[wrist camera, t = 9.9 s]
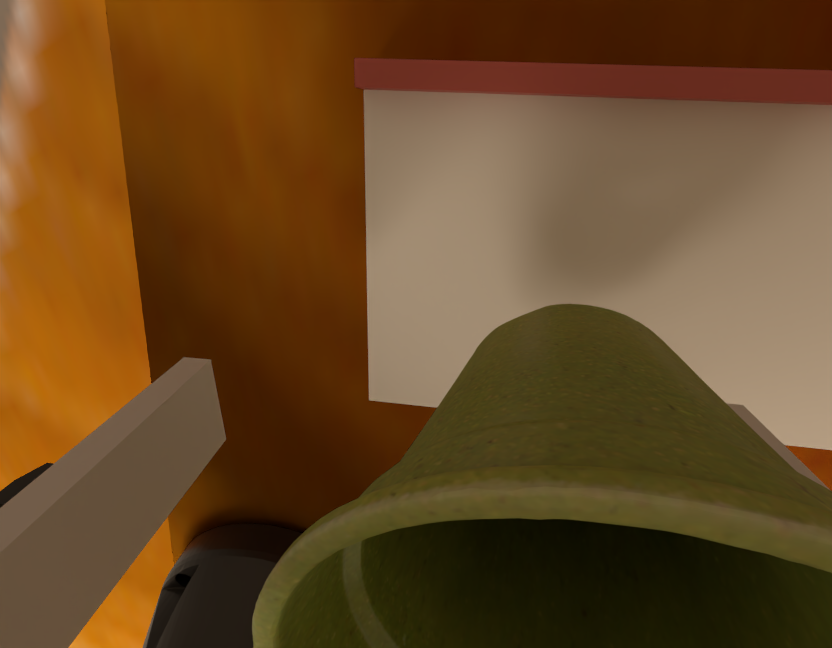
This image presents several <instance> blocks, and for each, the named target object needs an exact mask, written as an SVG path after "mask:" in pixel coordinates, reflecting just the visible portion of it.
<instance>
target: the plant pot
mask: <svg viewBox="0 0 832 648" xmlns="http://www.w3.org/2000/svg"><path fill="white" fill-rule="evenodd" d="M252 634H253V648H832V491H830V490H829V489H827V488H825V487H823V486H822V485H820V484H818V483H816V482H815V481H813V480H811V479H809V478H807V477H806V476H804V475H802V474H800V473H798V472H797V471H796V470H795V469H793V468H792V467H791V466H790V465H789V464H788V463H787V462H786V461H785V460H784V459H783V458H782V457H781V456H780V455H779V454H778V453H777V452H776V451H775V450H774V449H773V448H772V447H771V446H769V445H768V444H767V443H766V442H765V441H764V440H763V439H762V438H761V437H760V436H759V435H758V434H757V433H756V432H755V431H754V430H753V429H752V428H751V427H750V426H749V425H748V424H747V423H746V422H745V421H744V420H743V419H742V418H741V417H740V416H739V415H738V414H736V413H735V412H734V411H733V410H732V409H731V408H730V407H729V406H728V405H727V404H726V403H725V402H724V401H723V400H722V399H721V398H720V397H719V396H718V395H717V394H716V393H715V392H714V391H713V390H712V389H711V388H710V387H709V386H708V385H707V384H706V383H705V382H704V381H703V380H702V379H701V378H700V377H699V376H698V375H697V374H696V373H695V372H694V371H693V370H692V369H691V368H690V367H689V366H688V365H687V364H686V363H685V362H684V361H683V360H682V359H681V358H680V357H679V356H678V355H677V354H676V353H675V352H674V351H673V350H672V349H671V348H670V347H669V346H668V345H667V344H666V343H665V342H664V341H663V340H662V339H661V338H659V337H658V336H657V335H656V334H655V333H654V332H653V331H651V330H650V329H649V328H647V327H646V326H644V325H643V324H641V323H640V322H638V321H636V320H634V319H632V318H630V317H628V316H627V315H624V314H621V313H619V312H616V311H613V310H609V309H605V308H602V307H596V306H590V305H583V304H556V305H549V306H545V307H543V308H540V309H537V310H535V311H532V312H529V313H527V314H524V315H522V316H519V317H517V318H515V319H512V320H510V321H508V322H506V323H504V324H502V325H500V326H499V327H497V328H496V329H494V330H493V331H492V332H491V333H490V334H489V335H488V336H486V337H485V338H484V340H483V341H482V342H481V343H480V344H479V346H478V347H477V349H476V350H475V352H474V353H473V355H472V357H471V358H470V359H469V361H468V362H467V364H466V365H465V367H464V368H463V370H462V371H461V373H460V374H459V376H458V378H457V379H456V381H455V382H454V384H453V385H452V387H451V388H450V390H449V391H448V392H447V394H446V395H445V397H444V398H443V400H442V401H441V403H440V404H439V406H438V407H437V409H436V410H435V412H434V413H433V415H432V416H431V417H430V419H429V420H428V422H427V423H426V425H425V426H424V428H423V429H422V431H421V432H420V433H419V435H418V436H417V438H416V439H415V441H414V442H413V443H412V445H411V446H410V448H409V449H408V451H407V452H406V454H405V455H404V456H403V458H402V459H401V461H400V462H399V463H397V464H396V465H394V466H393V467H392V468H390V469H389V470H388V471H386V472H385V473H384V474H382V475H381V476H380V477H378V478H377V479H376V480H375V481H374V482H373V483H372V484H371V485H370V486H369V487H368V488H367V489H366V490H365V491H364V492H363V493H362V494H361V495H360V496H359V498H357V499H355V500H353V501H351V502H349V503H347V504H344V505H342V506H340V507H338V508H336V509H335V510H333V511H331V512H330V513H328V514H327V515H325V516H323V517H322V518H320V519H319V520H317V521H316V522H315V523H314V524H313V525H311V526H310V527H309V528H308V529H307V530H305V531H304V532H303V533H302V534H301V535H300V536H299V537H298V538H297V539H296V540H295V541H294V542H293V543H292V544H291V546H290V547H289V548H288V549H287V551H286V552H285V553H284V554H283V556H282V557H281V558H280V560H279V561H278V563H277V564H276V566H275V567H274V569H273V570H272V571H271V573H270V575H269V576H268V578H267V579H266V581H265V584H264V586H263V588H262V590H261V592H260V594H259V597H258V600H257V602H256V605H255V610H254V613H253V619H252Z"/></svg>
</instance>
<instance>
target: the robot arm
mask: <svg viewBox="0 0 832 648" xmlns="http://www.w3.org/2000/svg"><path fill="white" fill-rule="evenodd" d="M726 404H727V405H728V406H729V407H730V408H731V409H732V410H733V411H734V412H735V413H736V414H738V415H739V416H740V417H741V418H742V419H743V420H744V421H745V422H746V423H747V424H748V425H749V426H750V427H751V428H752V429H753V430H754V431H755V432H756V433H757V434H758V435H759V436H760V437H761V438H762V439H763V440H764V441H765V442H766V443H767V444H768V445H769V446H771V447H772V448H773V449H774V450H775V451H776V452H777V453H778V454H779V455H780V456H781V457H782V458H783V459H784V460H785V461H786V462H787V463H788V464H789V465H790V466H791V467H792V468H793V469H795V470H796V471H797V472H798V473H800V474H802V475H804V476H806V477H807V478H809V479H811V480H813V481H815V482H816V483H818V484H820V485H822V486H823V487H825V488H827V487H826V486H825V485H824V484H823V483H822V482H821V481H820V480H819V479H818V478H817V477H816V476H815V475H814V474H813V473H812V472H811V471H810V470H809V469H808V468H807V467H806V466H805V465H804V464H803V463H802V462H801V461H800V460H799V459H798V458H797V457H796V456H795V455H794V454H793V453H792V452H791V451H790V450H789V449H788V448H787V447H786V446H785V445H784V444H783V443H781V442H780V441H779V440H778V439H777V438H776V437H775V436H774V435H773V434H772V433H771V432H770V431H769V430H768V429H767V428H766V427H765V426H764V425H763V424H762V423H761V422H760V421H759V420H758V419H757V418H756V417H755V416H754V415H753V414H752V413H751V412H750V411H749V410H748V409H747V408H746V407H745V406H744V405H740V404H728V403H726ZM225 440H226V435H225V430H224V425H223V420H222V414H221V409H220V404H219V399H218V394H217V389H216V384H215V379H214V373H213V368H212V363H211V359H200V358H188V357H184V358H182V359H181V360H180V361H179V362H177V363H176V364H175V365H174V366H173V367H171V368H170V369H169V370H168V371H167V372H165V373H164V374H163V375H162V376H160V377H159V378H158V379H157V380H156V381H154V382H153V383H152V384H151V385H149V386H148V387H147V388H146V389H145V390H143V391H142V392H141V393H140V394H138V395H137V396H136V397H135V398H134V399H132V400H131V401H130V402H129V403H128V404H126V405H125V406H124V407H123V408H121V409H120V410H119V411H118V412H117V413H115V414H114V415H113V416H112V417H110V418H109V419H108V420H107V421H106V422H104V423H103V424H102V425H101V426H99V427H98V428H97V429H96V430H95V431H93V432H92V433H91V434H90V435H89V436H87V437H86V438H85V439H84V440H82V441H81V442H80V443H79V444H78V445H76V446H75V447H74V448H73V449H71V450H70V451H69V452H68V453H67V454H65V455H64V456H63V457H62V458H60V459H59V460H58V461H57V462H56V463H54V464H52V463H46V464H44V465H42V466H40V467H39V468H37V469H35V470H33V471H31V472H29V473H27V474H25V475H24V476H22V477H20V478H18V479H16V480H14V481H13V482H12V483H10V484H9V485H8V486H7V487H5V488H4V489H3V490H2V491H0V648H68V647H69V646H70V644H71V643H72V642H73V641H74V639H75V638H76V637H77V635H78V634H79V633H80V631H81V630H82V629H83V627H84V626H85V625H86V623H87V622H88V621H89V619H90V618H91V617H92V616H93V614H94V613H95V612H96V610H97V609H98V608H99V606H100V605H101V604H102V602H103V601H104V600H105V598H106V597H107V596H108V594H109V593H110V592H111V590H112V589H113V588H114V587H115V585H116V584H117V583H118V581H119V580H120V579H121V577H122V576H123V575H124V573H125V572H126V571H127V569H128V568H129V567H130V565H131V564H132V563H133V562H134V560H135V559H136V558H137V556H138V555H139V554H140V552H141V551H142V550H143V548H144V547H145V546H146V544H147V543H148V542H149V540H150V539H151V538H152V536H153V535H154V534H155V533H156V531H157V530H158V529H159V527H160V526H161V525H162V523H163V522H164V521H165V519H166V518H167V517H168V515H169V514H170V513H171V511H172V510H173V509H174V507H175V506H176V505H177V504H178V502H179V501H180V500H181V498H182V497H183V496H184V494H185V493H186V492H187V490H188V489H189V488H190V486H191V485H192V484H193V482H194V481H195V480H196V479H197V477H198V476H199V475H200V473H201V472H202V471H203V469H204V468H205V467H206V465H207V464H208V463H209V461H210V460H211V459H212V457H213V456H214V455H215V453H216V452H217V451H218V450H219V448H220V447H221V446H222V444H223V443H224V442H225ZM827 489H828V488H827ZM829 490H830V489H829ZM830 491H831V490H830ZM301 534H302V533H299V532H296V531H293V530H289V529H286V528H281V527H277V526H271V525H263V524H232V525H226V526H221V527H217V528H214V529H211V530H208V531H206V532H204V533H202V534H201V535H199V536H197V537H196V538H195V539H194V540H192V541H191V542H190V544H189V545H188V546H187V547H186V549H185V550H184V552H183V553H182V555H181V556H180V558H179V559H178V561H177V562H176V564H175V565H174V567H173V568H172V570H171V571H170V573H169V574H168V576H167V578H166V580H165V582H164V584H163V587H162V590H161V593H160V596H159V599H158V603H157V606H156V609H155V612H154V615H153V618H152V621H151V624H150V627H149V630H148V633H147V636H146V639H145V642H144V645H143V648H253V634H252V619H253V613H254V610H255V605H256V602H257V600H258V597H259V594H260V592H261V590H262V588H263V586H264V584H265V581H266V579H267V578H268V576H269V575H270V573H271V571H272V570H273V569H274V567H275V566H276V564H277V563H278V561H279V560H280V558H281V557H282V556H283V554H284V553H285V552H286V551H287V549H288V548H289V547H290V546H291V544H292V543H293V542H294V541H295V540H296V539H297V538H298V537H299V536H300V535H301Z"/></svg>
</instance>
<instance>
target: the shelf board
mask: <svg viewBox="0 0 832 648" xmlns="http://www.w3.org/2000/svg"><path fill="white" fill-rule="evenodd" d="M354 75H355V87H356V88H360V89H364V138H365V197H366V255H367V314H368V373H369V400H371V401H380V402H389V403H398V404H408V405H417V406H426V407H436V408H437V407H438V406H439V404H440V403H441V401H442V400H443V398H444V397H445V395H446V394H447V392H448V391H449V390H450V388H451V387H452V385H453V384H454V382H455V381H456V379H457V378H458V376H459V374H460V373H461V371H462V370H463V368H464V367H465V365H466V364H467V362H468V361H469V359H470V358H471V357H472V355H473V353H474V352H475V350H476V349H477V347H478V346H479V344H480V343H481V342H482V341H483V340H484V338H485V337H486V336H488V335H489V334H490V333H491V332H492V331H493V330H494V329H496V328H497V327H499V326H500V325H502V324H504V323H506V322H508V321H510V320H512V319H515V318H517V317H519V316H522V315H524V314H527V313H529V312H532V311H535V310H537V309H540V308H543V307H545V306H549V305H556V304H583V305H590V306H596V307H602V308H605V309H609V310H613V311H616V312H619V313H621V314H624V315H627V316H628V317H630V318H632V319H634V320H636V321H638V322H640V323H641V324H643V325H644V326H646V327H647V328H649V329H650V330H651V331H653V332H654V333H655V334H656V335H657V336H658V337H659V338H661V339H662V340H663V341H664V342H665V343H666V344H667V345H668V346H669V347H670V348H671V349H672V350H673V351H674V352H675V353H676V354H677V355H678V356H679V357H680V358H681V359H682V360H683V361H684V362H685V363H686V364H687V365H688V366H689V367H690V368H691V369H692V370H693V371H694V372H695V373H696V374H697V375H698V376H699V377H700V378H701V379H702V380H703V381H704V382H705V383H706V384H707V385H708V386H709V387H710V388H711V389H712V390H713V391H714V392H715V393H716V394H717V395H718V396H719V397H720V398H721V399H722V400H723V401H724V402H725V403H728V404H740V405H744V406H745V407H746V408H747V409H748V410H749V411H750V412H751V413H752V414H753V415H754V416H755V417H756V418H757V419H758V420H759V421H760V422H761V423H762V424H763V425H764V426H765V427H766V428H767V429H768V430H769V431H770V432H771V433H772V434H773V435H774V436H775V437H776V438H777V439H778V440H779V441H780V442H781V443H783V444H784V445H790V446H799V447H808V448H818V449H827V450H832V70H803V69H764V68H726V67H688V66H649V65H611V64H572V63H534V62H495V61H457V60H418V59H380V58H354Z"/></svg>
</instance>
